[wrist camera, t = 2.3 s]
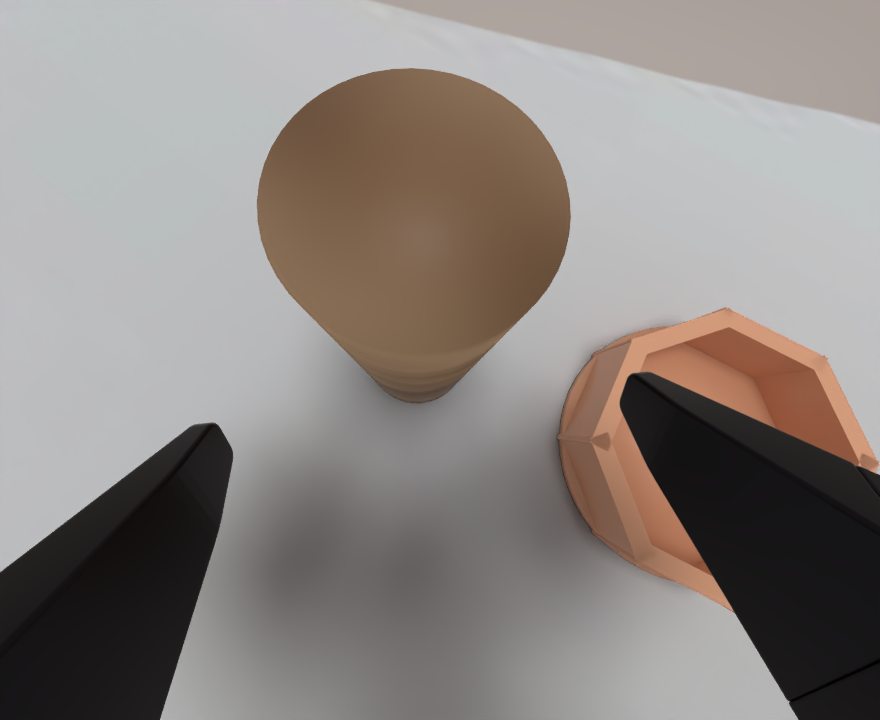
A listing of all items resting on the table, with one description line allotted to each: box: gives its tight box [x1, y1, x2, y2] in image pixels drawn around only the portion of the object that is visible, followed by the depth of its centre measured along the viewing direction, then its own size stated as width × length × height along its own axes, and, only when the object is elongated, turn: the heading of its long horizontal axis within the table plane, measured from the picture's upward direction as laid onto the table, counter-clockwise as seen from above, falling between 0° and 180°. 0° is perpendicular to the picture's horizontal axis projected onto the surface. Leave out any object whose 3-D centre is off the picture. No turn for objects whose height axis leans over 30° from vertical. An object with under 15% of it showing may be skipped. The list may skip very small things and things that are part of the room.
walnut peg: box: [257, 68, 571, 403], centre depth 12 cm, size 5×5×13 cm
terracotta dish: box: [557, 308, 879, 613], centre depth 17 cm, size 12×12×4 cm
